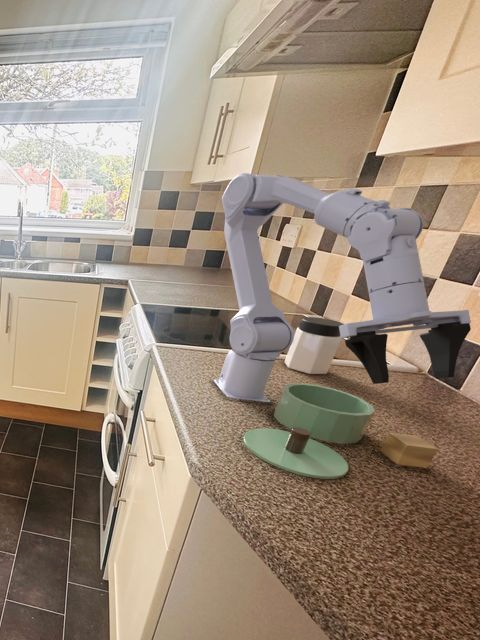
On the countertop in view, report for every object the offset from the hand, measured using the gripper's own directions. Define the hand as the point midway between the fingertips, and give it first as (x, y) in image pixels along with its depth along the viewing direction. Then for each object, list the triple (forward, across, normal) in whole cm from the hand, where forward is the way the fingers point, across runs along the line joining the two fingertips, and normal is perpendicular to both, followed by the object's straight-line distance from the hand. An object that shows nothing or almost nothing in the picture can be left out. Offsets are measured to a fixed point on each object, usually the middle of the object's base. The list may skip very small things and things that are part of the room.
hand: (412, 380), depth 60 cm
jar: (-6, +10, +47) cm, 48 cm away
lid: (+10, -14, +4) cm, 18 cm away
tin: (+7, -5, +16) cm, 18 cm away
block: (+13, +2, +8) cm, 15 cm away
